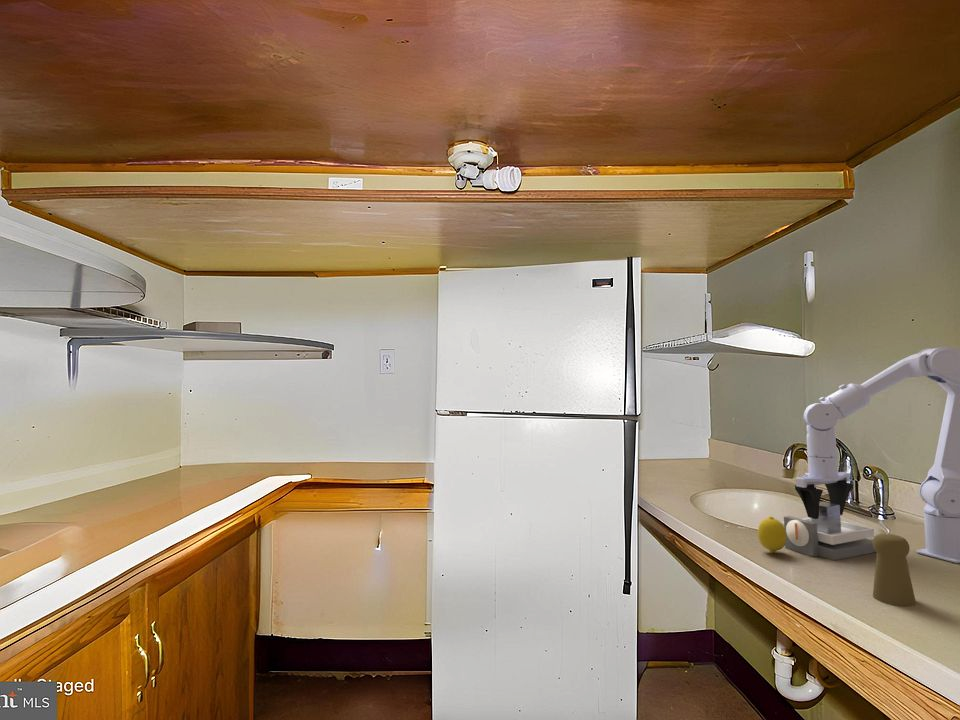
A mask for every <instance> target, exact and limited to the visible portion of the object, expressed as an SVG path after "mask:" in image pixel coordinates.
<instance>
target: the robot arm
mask: <svg viewBox="0 0 960 720" xmlns="http://www.w3.org/2000/svg"><path fill="white" fill-rule="evenodd" d="M919 377H926V378H928V379H930V380H932V381H934V382H936V384H937V385H939V387H941V388H942V389H943V390H944V391H945V392H946V393H947V394H946V395H947V396H946V401H945V406H944V411H943V415H942V416H943V418H942V421H941V426H940V431H939V432H940V433H939V436H938V442H937V447H936V453H935V458H934V462H933V464H932V466H931V467H930V468H929V470H928V471H927V476H926V478H925V480H923V482H921V484H920V485H919V490H918V492H919V496H920V498H921V500H922V501H923V502H924V503H926V504H925V506H924V507H923V520H924V521H923V523H924V540H925V548H919V549H916V550H915V553H918V554H921V555H924V556H928V557H932V558H935V559H940V560H943V561H948V562H951V563H956V564H960V350H959V349H958V348H956V347H952V346H941V347H940V346H939V347H934V348H933V347H928V348H924V349H922V350H920V351H919V352H918V353H914V354H912V355H909V356H907V357H904V358H903V359H900V360H898V361H897V362H895V363H894V364H892V365H891V366H889V367H887V368H885V369H884V370H882V371H881V372H879V373H878V374H875V375H873V377H871V378H869V379H868V380H866V381H864V382H863V383H861V384H857V383H851V382H850V383H849V384H847V385H846V383H845V384H841V385H839V386H838V388H839V389H838V390H837V391H835V392H833V393H831V394H829V395H828V396H825V397H824V396H822V397H820V398H818V400H819V401H820V402H815V403H812V404H809V405H808V406H807V407H806V408H805V410H804V412H803V415H802V418H803V421H804V422H805V423H806V424H807V425H806V430H805V431H806V452H807V454H806V455H807V468H808V469H807V470H808V471H807V472H805V473H804V475H802V476H799V477H795V485H794V489H795V491H796V492H797V494H798V496H799V497H800V499H801V501H802V503H803V506H804V509H805V513H806V514H807V518H813V519H818V517H819V503H820V502H821V501H820V500H821V497H822V494H823V492H824V490H823V489H820V488H817V486H819V485H824V486H825V487H826V488H825V489H827V490H826V491H827V493H828V497H829V503H833V504H837V505H840V516H843V513H844V510H845V506H846V503H847V499H848V497H849V495H850V493H851V491H852V490H853V488H854V485H853V483H851V473H850V472H845V471H839V470H838V456H837V454H838V453H837V439H836V433H835V426H836V425H837V424H838V421H839V420H843V419H845V418H847V417H848V416H851V415H852V414H854V413H856V412H858V411H860V410H861V409H862V410H863V409H864V408H865V407H867V406H868V405H869V404H870V401H871V397H872V396H875V395H876V394H879V393H880V392H882V391H885V390H887V389H888V388H890V387H892V386H894V385H896V384H898V383H900V382H902V381H903V380H906V379H908V378H919Z"/></svg>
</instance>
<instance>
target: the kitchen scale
mask: <svg viewBox="0 0 960 720" xmlns="http://www.w3.org/2000/svg"><path fill="white" fill-rule="evenodd" d="M780 522H781V521H780ZM781 523H782V525H783V526H784V529H785V532H786V543H785V545H784V548H786V549H789V550H791V551H795V552H798V553H801V554H804V555H806V556H810V557H818V556H819V557H822V558H825V559H828V560H832V561H837V560H842V559H848V558H853V557H857V556H862V555H867V554H873V553H877V552H876V551H875V550H874V547H873V542H872V541H873V538H874V537H875V528H872V527H868V526H863V525H860V524H856V523H852V522H847V521H843V520H841V532H838V533H832V534H826V533H822V532H819V531H817V523H815V522H812V519H811V518H809V517H804V518H799V517H794V516H790V515H786V516H783V521H782V522H781ZM870 538H872V539H870Z"/></svg>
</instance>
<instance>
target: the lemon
mask: <svg viewBox="0 0 960 720" xmlns="http://www.w3.org/2000/svg"><path fill="white" fill-rule="evenodd" d="M757 536H758V540H759V542H760V544H761V545H762V546H763V547H764V548H765V549H766V550H768V551H770V553H772V554H775V553H776V552H777V551H780V550H782V549H783V548H785V543H786V532H785V529H784V526H783V525H782V523H781V521H780V520H778V519H776V518H775V517H773V516H769V517H767V518H764V519H763V520H762V521H761V522H759V525H758V530H757Z"/></svg>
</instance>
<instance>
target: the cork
mask: <svg viewBox="0 0 960 720" xmlns="http://www.w3.org/2000/svg"><path fill="white" fill-rule="evenodd" d="M872 540H873V541H872V542H873V547H874V550H875V551H876V552H875V553H876V557H875V558H876V560H875V569H874V579H873V590H872V598H874V599H875V600H876V601H879V602H881V603H885V604H886V605H892V606H898V607H911V606H915V605H916V604H917V601H916V597H915V592H914V587H913V583H912V578H911V573H910V569H909V564H908V561H907V556H908V555H909V553H910V544H909V542H908V541H907V539H906V538H904V537H902V536H900V535H896V534H894V533H893V534H891V533H878V534H876V535H874V537H872Z"/></svg>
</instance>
